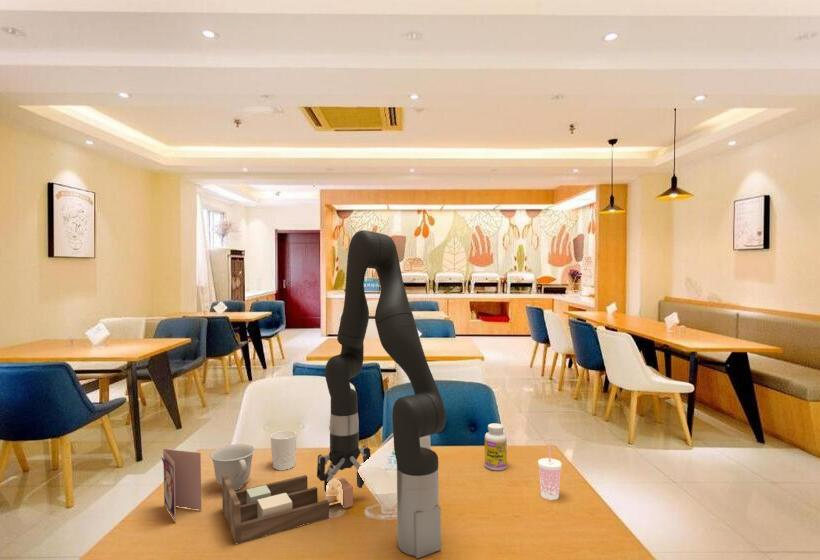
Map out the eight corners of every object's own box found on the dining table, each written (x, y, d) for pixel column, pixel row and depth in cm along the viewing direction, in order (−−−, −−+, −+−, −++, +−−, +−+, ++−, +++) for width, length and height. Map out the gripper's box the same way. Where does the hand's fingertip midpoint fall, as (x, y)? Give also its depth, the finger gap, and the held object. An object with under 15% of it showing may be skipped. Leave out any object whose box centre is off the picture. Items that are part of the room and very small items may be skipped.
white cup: (270, 463, 150) (270, 431, 150) (296, 459, 152) (295, 429, 152) (271, 473, 142) (270, 440, 142) (297, 469, 145) (297, 437, 145)
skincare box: (431, 460, 151) (431, 423, 150) (421, 464, 148) (420, 426, 148) (419, 455, 155) (419, 418, 155) (408, 458, 152) (408, 421, 152)
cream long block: (353, 506, 121) (352, 486, 121) (263, 531, 110) (262, 509, 110) (344, 496, 126) (343, 478, 126) (257, 519, 115) (257, 499, 115)
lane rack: (329, 517, 116) (328, 481, 116) (235, 544, 105) (234, 504, 105) (306, 489, 131) (305, 457, 131) (222, 509, 120) (221, 475, 120)
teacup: (221, 505, 123) (221, 467, 123) (204, 485, 134) (204, 450, 134) (266, 491, 130) (265, 455, 130) (246, 473, 142) (246, 440, 142)
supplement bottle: (483, 470, 143) (483, 428, 143) (486, 461, 150) (486, 421, 149) (505, 472, 141) (505, 430, 141) (507, 463, 148) (507, 423, 147)
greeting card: (160, 507, 122) (159, 449, 122) (191, 498, 127) (190, 442, 127) (171, 525, 113) (170, 463, 113) (204, 514, 118) (203, 455, 118)
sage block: (271, 512, 119) (270, 492, 119) (250, 517, 117) (250, 497, 117) (266, 503, 124) (266, 484, 124) (246, 508, 121) (246, 489, 121)
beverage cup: (561, 502, 122) (561, 449, 122) (537, 499, 124) (537, 446, 124) (562, 492, 128) (561, 441, 128) (538, 489, 130) (538, 438, 130)
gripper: (322, 438, 116) (323, 503, 117) (375, 429, 123) (375, 490, 124) (313, 429, 123) (313, 491, 123) (363, 420, 130) (363, 478, 130)
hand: (344, 490), depth 124 cm, fingers open, 8 cm apart
